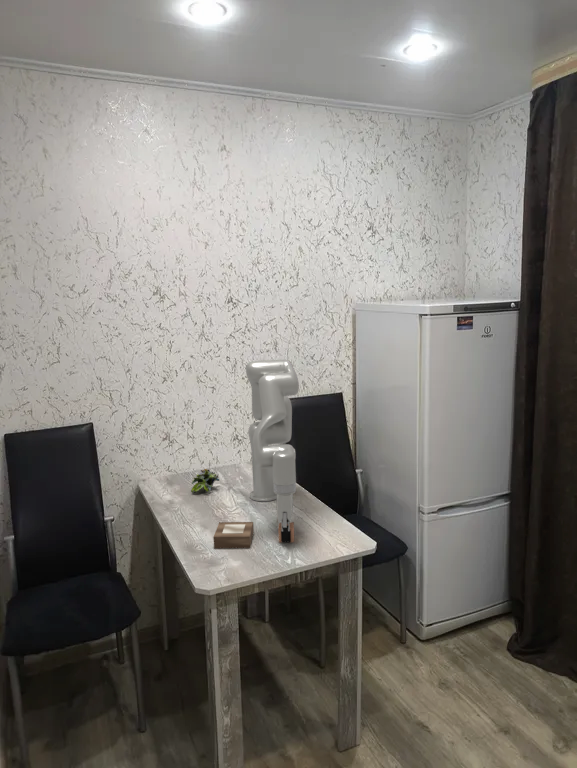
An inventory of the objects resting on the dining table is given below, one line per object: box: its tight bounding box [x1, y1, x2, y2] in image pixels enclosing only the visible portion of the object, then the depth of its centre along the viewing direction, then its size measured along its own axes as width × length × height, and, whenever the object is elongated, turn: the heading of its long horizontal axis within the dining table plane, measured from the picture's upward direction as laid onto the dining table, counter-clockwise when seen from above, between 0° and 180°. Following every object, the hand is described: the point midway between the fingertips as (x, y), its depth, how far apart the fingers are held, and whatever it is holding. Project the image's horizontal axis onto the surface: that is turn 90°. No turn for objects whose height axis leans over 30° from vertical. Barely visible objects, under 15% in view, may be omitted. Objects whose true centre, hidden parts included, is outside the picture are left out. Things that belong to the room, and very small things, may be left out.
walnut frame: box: [212, 521, 255, 549], centre depth 191 cm, size 12×12×4 cm
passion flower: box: [190, 468, 220, 494], centre depth 239 cm, size 11×11×12 cm
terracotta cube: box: [277, 521, 295, 543], centre depth 191 cm, size 5×5×5 cm
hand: (286, 537), depth 191 cm, fingers closed on terracotta cube, 4 cm apart
